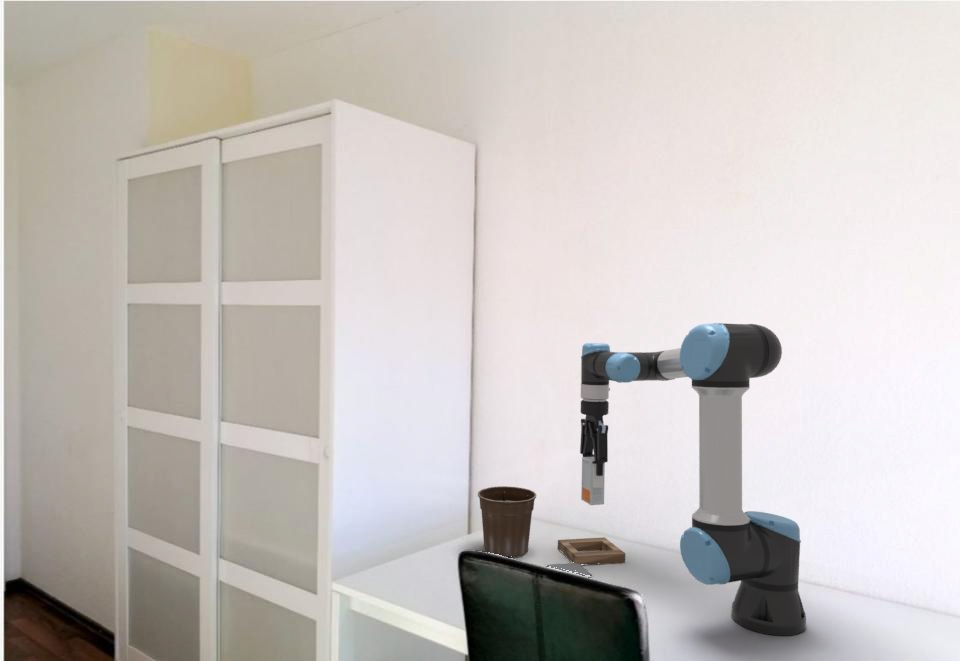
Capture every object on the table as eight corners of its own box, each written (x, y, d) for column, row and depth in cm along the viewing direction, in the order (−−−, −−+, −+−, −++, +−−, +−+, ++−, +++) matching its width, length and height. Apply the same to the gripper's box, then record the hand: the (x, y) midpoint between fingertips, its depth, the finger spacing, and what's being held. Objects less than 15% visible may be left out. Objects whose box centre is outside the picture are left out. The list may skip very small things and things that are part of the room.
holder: (625, 562, 197) (625, 553, 197) (575, 565, 194) (576, 556, 194) (604, 546, 211) (604, 537, 211) (557, 548, 207) (557, 539, 207)
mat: (591, 577, 186) (591, 574, 186) (557, 579, 184) (557, 576, 184) (578, 564, 194) (578, 562, 194) (546, 567, 192) (546, 564, 192)
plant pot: (518, 565, 193) (519, 504, 193) (465, 554, 201) (466, 495, 201) (544, 548, 207) (546, 491, 207) (494, 538, 215) (495, 483, 215)
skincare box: (580, 500, 204) (581, 456, 204) (594, 499, 205) (595, 456, 205) (590, 505, 198) (591, 461, 198) (604, 504, 199) (605, 460, 199)
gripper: (622, 403, 193) (620, 492, 193) (594, 395, 211) (592, 476, 212) (595, 404, 191) (593, 493, 191) (569, 396, 209) (567, 477, 210)
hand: (592, 484), depth 201 cm, fingers closed on skincare box, 6 cm apart
